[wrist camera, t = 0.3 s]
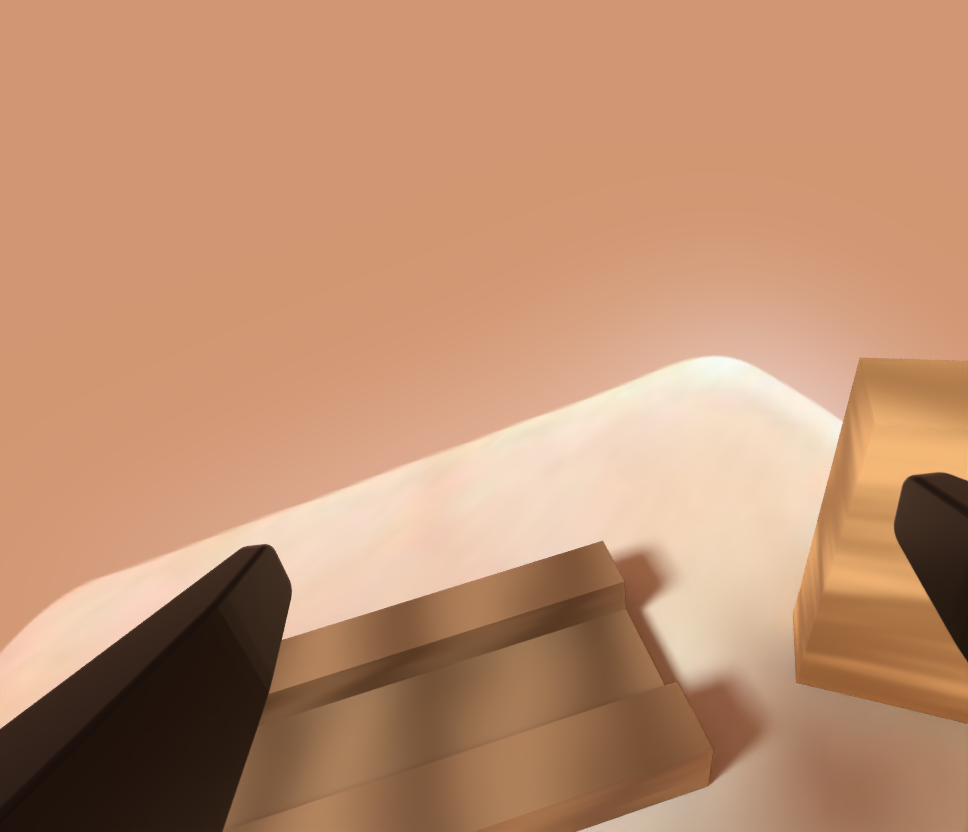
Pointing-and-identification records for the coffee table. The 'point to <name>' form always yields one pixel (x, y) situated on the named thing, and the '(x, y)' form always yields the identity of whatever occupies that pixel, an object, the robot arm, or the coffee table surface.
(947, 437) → the oak stave
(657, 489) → the coffee table surface
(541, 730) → the walnut rail
